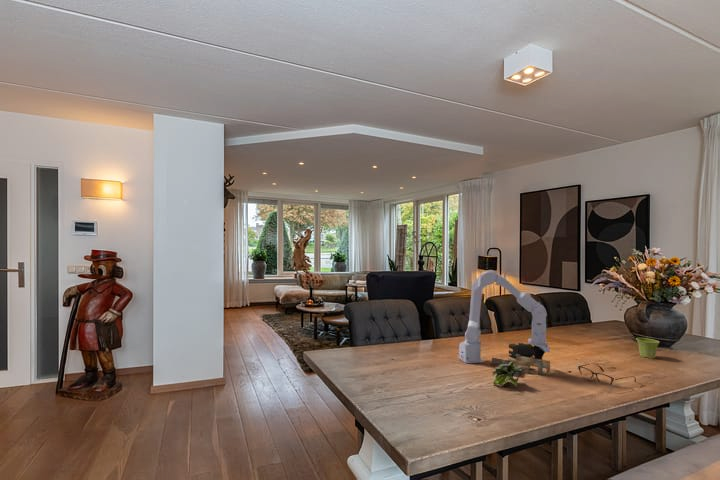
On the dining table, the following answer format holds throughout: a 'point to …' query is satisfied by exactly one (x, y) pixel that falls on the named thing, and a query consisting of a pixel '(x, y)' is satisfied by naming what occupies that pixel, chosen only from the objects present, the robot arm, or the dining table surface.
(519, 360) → the hinged leg
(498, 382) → the leafy green plant
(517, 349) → the end cap
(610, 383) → the eyeglasses
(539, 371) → the stool base
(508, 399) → the dining table surface
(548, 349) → the robot arm
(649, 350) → the plant pot
